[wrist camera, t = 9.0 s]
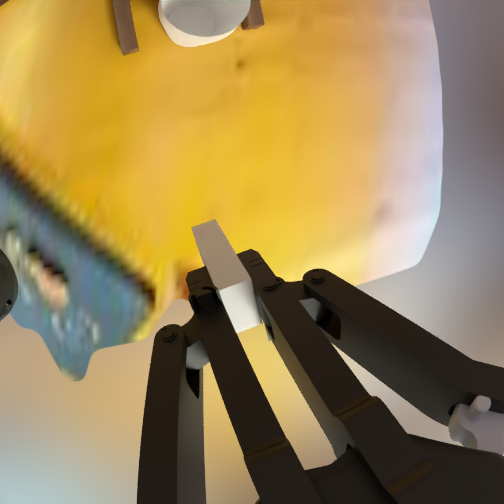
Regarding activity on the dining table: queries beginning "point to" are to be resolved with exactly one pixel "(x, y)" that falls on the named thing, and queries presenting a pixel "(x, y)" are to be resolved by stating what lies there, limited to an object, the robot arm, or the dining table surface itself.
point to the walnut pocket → (128, 32)
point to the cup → (201, 19)
